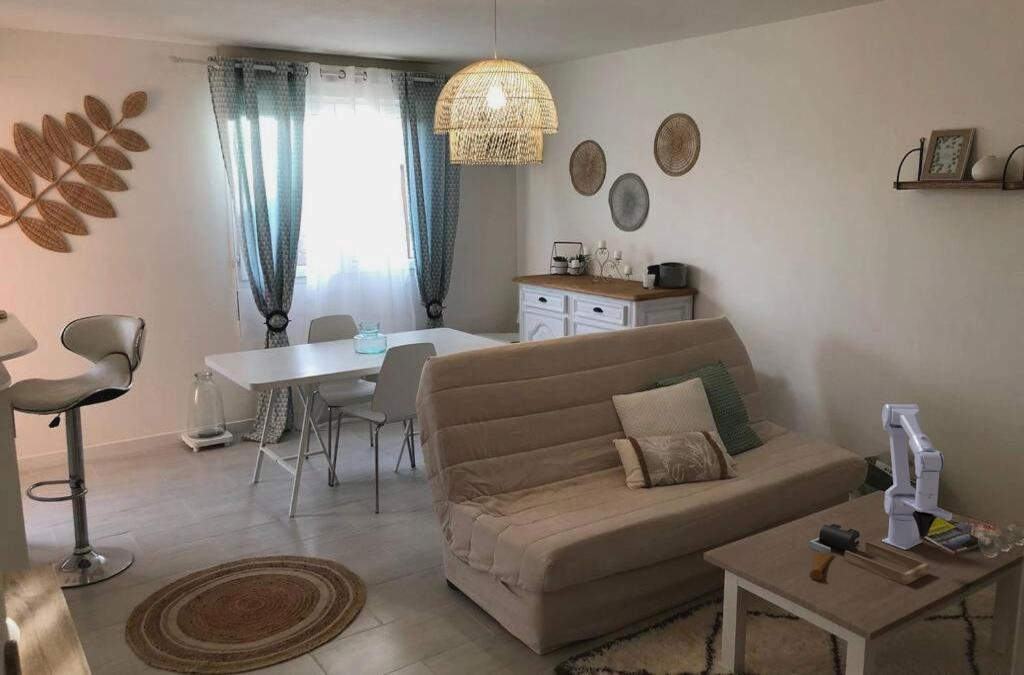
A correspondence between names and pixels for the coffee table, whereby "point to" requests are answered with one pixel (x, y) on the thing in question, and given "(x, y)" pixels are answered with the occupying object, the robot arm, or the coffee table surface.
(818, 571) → the primitive tool
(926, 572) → the cubby
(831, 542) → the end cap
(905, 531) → the robot arm
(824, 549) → the frame
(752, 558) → the coffee table surface
